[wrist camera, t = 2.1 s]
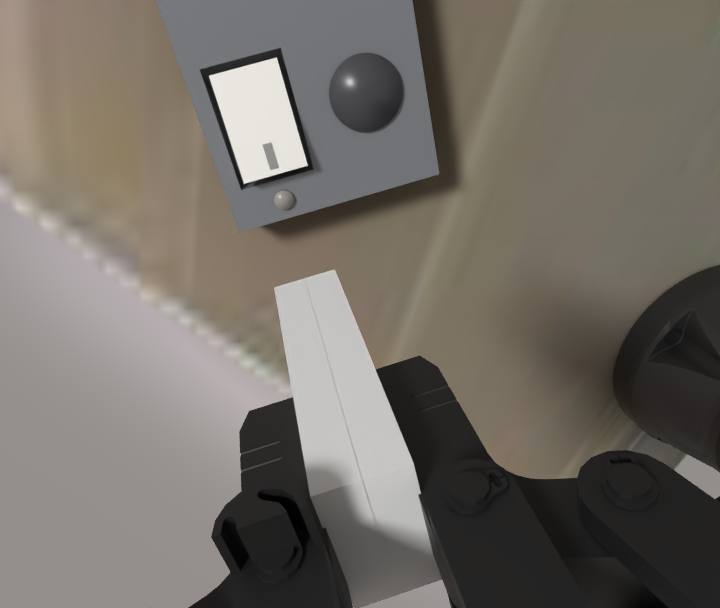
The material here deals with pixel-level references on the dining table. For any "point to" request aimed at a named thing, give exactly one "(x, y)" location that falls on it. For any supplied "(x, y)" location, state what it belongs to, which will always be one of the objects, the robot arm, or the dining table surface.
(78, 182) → the dining table surface
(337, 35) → the rocker switch box
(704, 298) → the robot arm
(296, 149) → the rocker
